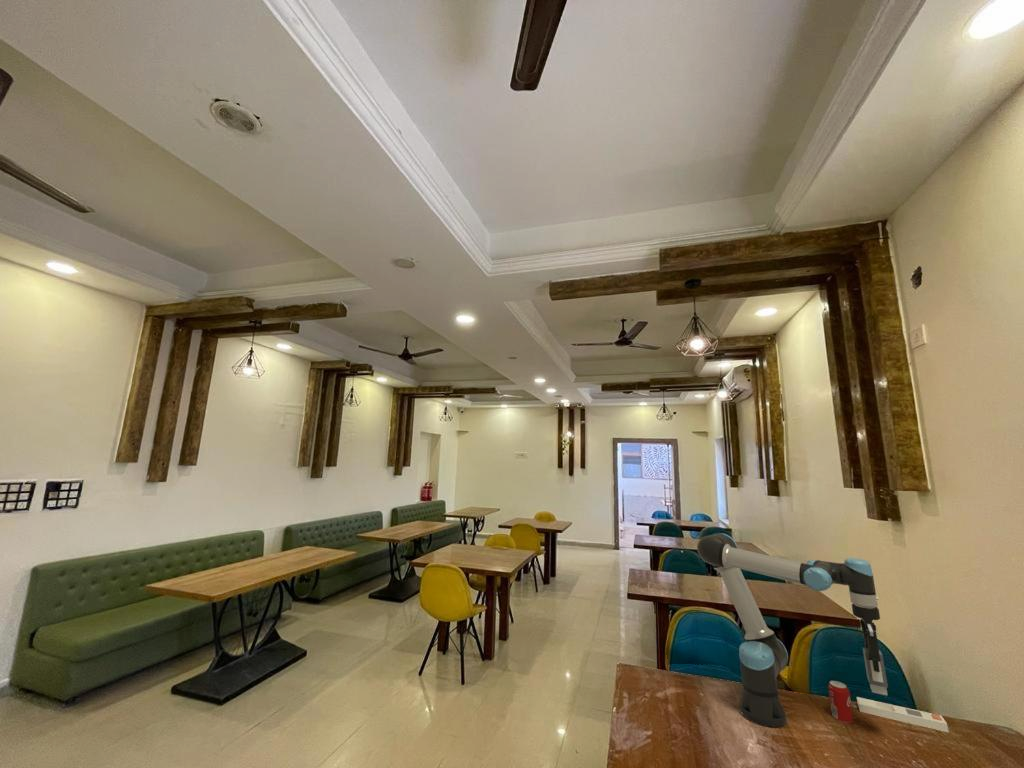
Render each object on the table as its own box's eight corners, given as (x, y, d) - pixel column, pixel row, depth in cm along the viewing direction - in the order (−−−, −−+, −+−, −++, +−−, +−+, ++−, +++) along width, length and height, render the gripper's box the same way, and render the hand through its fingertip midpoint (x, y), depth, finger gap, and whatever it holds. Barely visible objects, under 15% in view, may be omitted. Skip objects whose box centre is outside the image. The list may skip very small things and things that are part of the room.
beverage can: (858, 726, 149) (852, 689, 152) (838, 724, 150) (832, 687, 153) (847, 716, 155) (842, 680, 158) (828, 714, 156) (823, 679, 159)
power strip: (850, 712, 158) (848, 699, 159) (848, 704, 163) (846, 692, 164) (949, 735, 144) (946, 722, 145) (943, 726, 149) (941, 713, 150)
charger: (889, 696, 141) (882, 654, 144) (871, 692, 143) (864, 651, 146) (886, 690, 145) (879, 649, 148) (868, 686, 147) (862, 646, 150)
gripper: (883, 614, 141) (896, 692, 136) (873, 600, 155) (885, 670, 150) (854, 610, 145) (867, 685, 140) (848, 597, 159) (858, 665, 154)
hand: (876, 677), depth 145 cm, fingers closed on charger, 5 cm apart
